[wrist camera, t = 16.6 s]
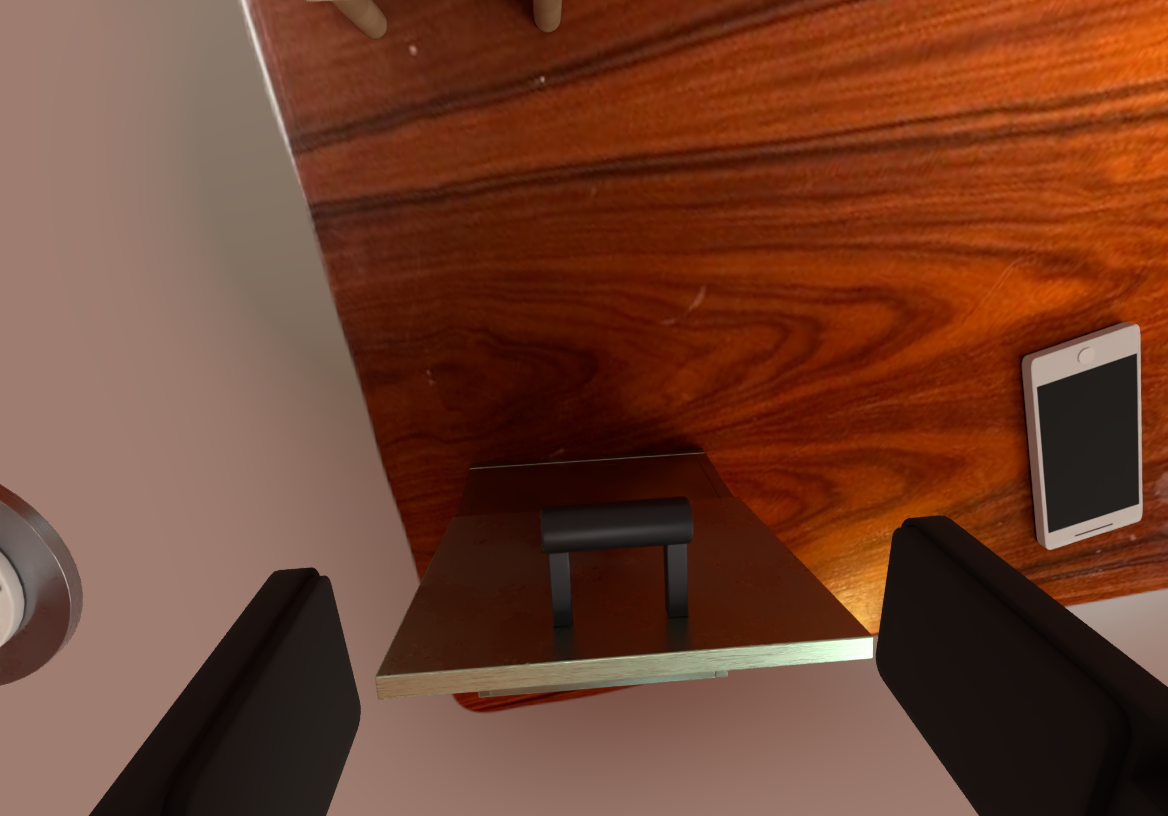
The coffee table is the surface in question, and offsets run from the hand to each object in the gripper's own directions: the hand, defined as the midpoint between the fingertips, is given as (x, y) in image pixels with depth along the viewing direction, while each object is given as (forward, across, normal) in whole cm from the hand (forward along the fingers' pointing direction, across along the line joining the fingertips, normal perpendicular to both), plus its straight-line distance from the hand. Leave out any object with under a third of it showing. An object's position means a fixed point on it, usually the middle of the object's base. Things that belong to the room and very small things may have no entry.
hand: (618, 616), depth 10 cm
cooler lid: (+13, -1, +9) cm, 16 cm away
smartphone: (+27, -35, +11) cm, 46 cm away
